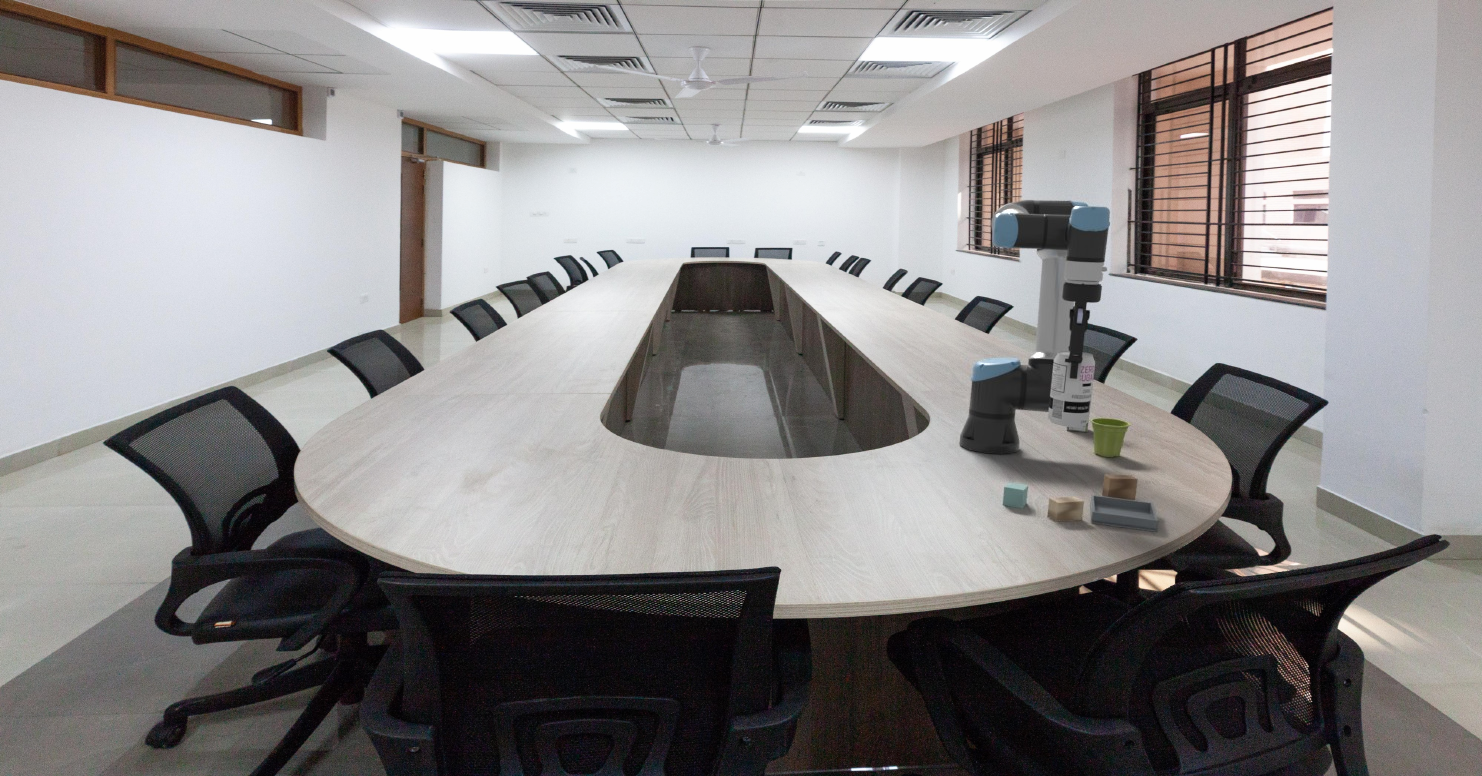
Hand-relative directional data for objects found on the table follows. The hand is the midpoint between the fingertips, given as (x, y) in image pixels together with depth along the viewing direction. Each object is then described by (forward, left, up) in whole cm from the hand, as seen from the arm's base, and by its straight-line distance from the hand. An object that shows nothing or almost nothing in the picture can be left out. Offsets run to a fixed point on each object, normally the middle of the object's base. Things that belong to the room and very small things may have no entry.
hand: (1071, 389), depth 191 cm
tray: (+12, -9, -24) cm, 28 cm away
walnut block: (+12, +5, -24) cm, 27 cm away
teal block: (-9, -9, -24) cm, 27 cm away
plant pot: (+11, +44, -24) cm, 51 cm away
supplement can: (0, 0, -8) cm, 8 cm away
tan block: (+1, -14, -24) cm, 28 cm away
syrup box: (+4, +70, -24) cm, 74 cm away
